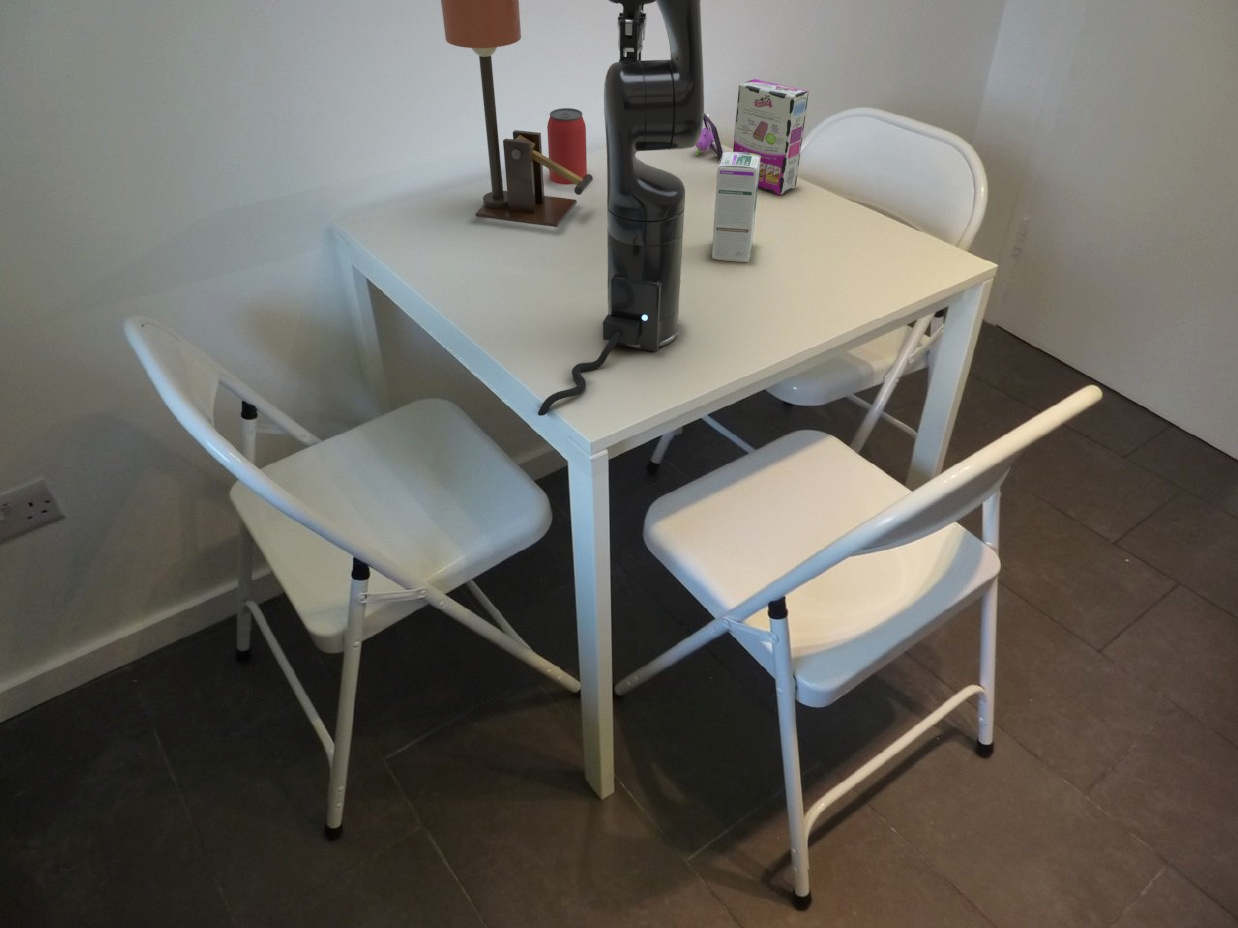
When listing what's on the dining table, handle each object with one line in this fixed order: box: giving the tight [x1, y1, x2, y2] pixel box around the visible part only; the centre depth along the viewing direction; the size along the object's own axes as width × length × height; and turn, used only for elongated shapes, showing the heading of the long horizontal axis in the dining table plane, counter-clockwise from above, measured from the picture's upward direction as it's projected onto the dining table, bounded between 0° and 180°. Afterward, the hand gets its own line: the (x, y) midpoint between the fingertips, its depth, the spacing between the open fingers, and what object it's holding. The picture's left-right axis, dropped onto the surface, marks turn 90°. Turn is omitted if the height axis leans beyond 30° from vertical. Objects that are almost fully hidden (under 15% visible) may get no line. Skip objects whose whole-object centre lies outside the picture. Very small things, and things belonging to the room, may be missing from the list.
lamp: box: [440, 0, 522, 209], centre depth 129 cm, size 11×11×32 cm
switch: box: [515, 135, 594, 196], centre depth 132 cm, size 13×6×2 cm, turn 76°
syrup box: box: [711, 151, 760, 263], centre depth 124 cm, size 6×6×14 cm
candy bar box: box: [732, 78, 810, 196], centre depth 144 cm, size 11×5×16 cm, turn 48°
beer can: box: [546, 107, 588, 185], centre depth 146 cm, size 7×7×12 cm
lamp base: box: [475, 129, 578, 228], centre depth 135 cm, size 14×10×13 cm
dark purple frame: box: [695, 112, 724, 159], centre depth 159 cm, size 7×5×9 cm
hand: (631, 85), depth 126 cm, fingers open, 8 cm apart
